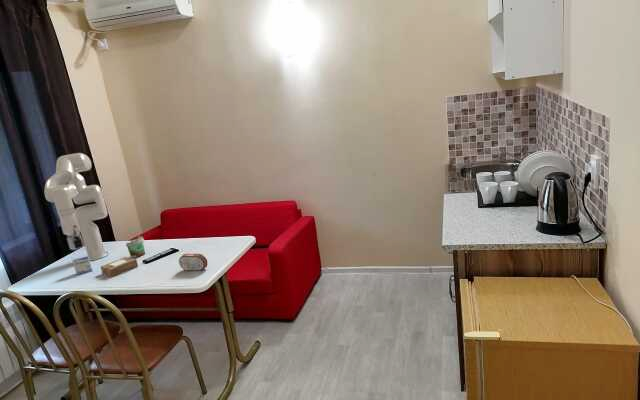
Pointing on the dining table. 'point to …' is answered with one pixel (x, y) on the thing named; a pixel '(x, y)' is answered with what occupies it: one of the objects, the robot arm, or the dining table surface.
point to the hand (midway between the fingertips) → (76, 246)
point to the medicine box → (82, 264)
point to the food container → (136, 247)
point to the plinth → (119, 266)
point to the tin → (193, 262)
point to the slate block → (71, 243)
